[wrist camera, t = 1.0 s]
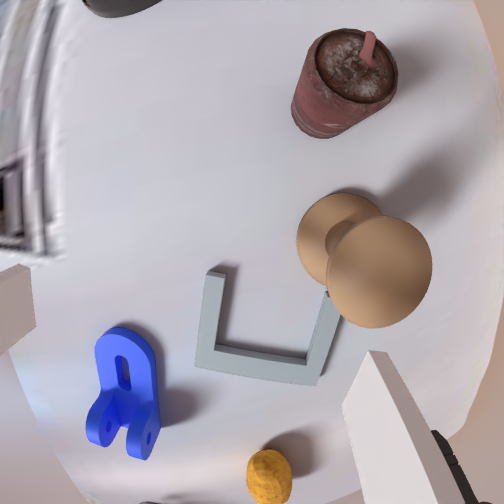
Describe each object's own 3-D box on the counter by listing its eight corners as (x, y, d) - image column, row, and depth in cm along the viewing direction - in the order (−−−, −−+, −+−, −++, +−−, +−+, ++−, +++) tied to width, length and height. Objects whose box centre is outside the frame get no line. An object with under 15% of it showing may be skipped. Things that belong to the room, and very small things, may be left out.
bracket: (161, 427, 39) (144, 468, 31) (114, 414, 39) (92, 450, 31) (154, 334, 35) (126, 375, 26) (98, 321, 35) (62, 354, 26)
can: (353, 93, 27) (408, 41, 13) (341, 146, 28) (396, 124, 15) (298, 76, 27) (319, 9, 13) (284, 130, 28) (298, 91, 15)
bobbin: (307, 183, 30) (332, 186, 18) (394, 205, 30) (457, 221, 18) (287, 276, 32) (298, 331, 20) (372, 291, 32) (417, 344, 20)
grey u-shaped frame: (208, 270, 32) (205, 274, 31) (341, 294, 32) (345, 299, 31) (197, 360, 35) (194, 366, 34) (314, 379, 35) (315, 386, 34)
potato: (252, 483, 42) (250, 513, 35) (242, 439, 39) (239, 474, 32) (291, 481, 41) (292, 511, 35) (290, 437, 38) (292, 472, 31)
